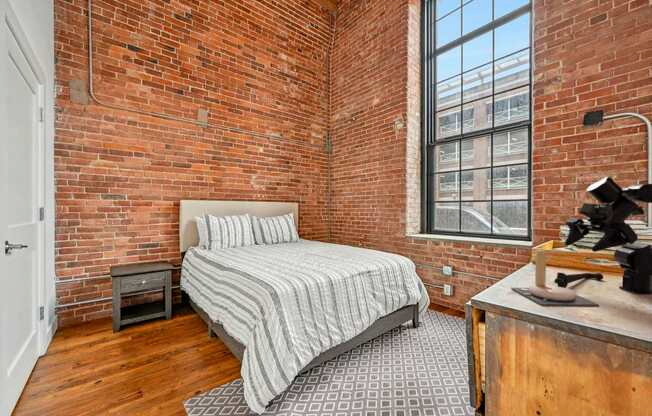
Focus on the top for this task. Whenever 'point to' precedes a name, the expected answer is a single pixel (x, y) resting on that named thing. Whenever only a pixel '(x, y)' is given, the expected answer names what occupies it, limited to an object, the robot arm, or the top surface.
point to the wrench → (574, 278)
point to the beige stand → (540, 282)
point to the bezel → (549, 302)
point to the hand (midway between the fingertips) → (578, 247)
